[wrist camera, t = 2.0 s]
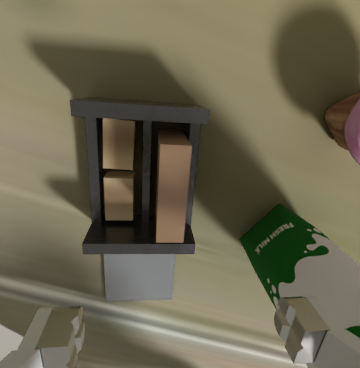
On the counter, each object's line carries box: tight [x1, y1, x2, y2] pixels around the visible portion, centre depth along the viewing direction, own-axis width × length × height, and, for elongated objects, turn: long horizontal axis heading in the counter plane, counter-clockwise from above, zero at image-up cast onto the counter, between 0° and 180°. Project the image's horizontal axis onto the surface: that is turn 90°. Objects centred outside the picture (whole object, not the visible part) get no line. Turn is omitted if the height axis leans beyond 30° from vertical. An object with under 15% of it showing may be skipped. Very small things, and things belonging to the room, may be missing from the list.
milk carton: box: [240, 204, 360, 368], centre depth 24 cm, size 9×9×20 cm
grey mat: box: [104, 254, 175, 301], centre depth 32 cm, size 10×9×1 cm
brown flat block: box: [156, 129, 192, 243], centre depth 24 cm, size 9×2×8 cm, turn 176°
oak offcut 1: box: [103, 118, 136, 170], centre depth 25 cm, size 5×3×2 cm, turn 174°
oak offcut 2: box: [104, 171, 135, 221], centre depth 28 cm, size 5×3×2 cm, turn 176°
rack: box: [70, 98, 210, 254], centre depth 25 cm, size 14×11×6 cm
